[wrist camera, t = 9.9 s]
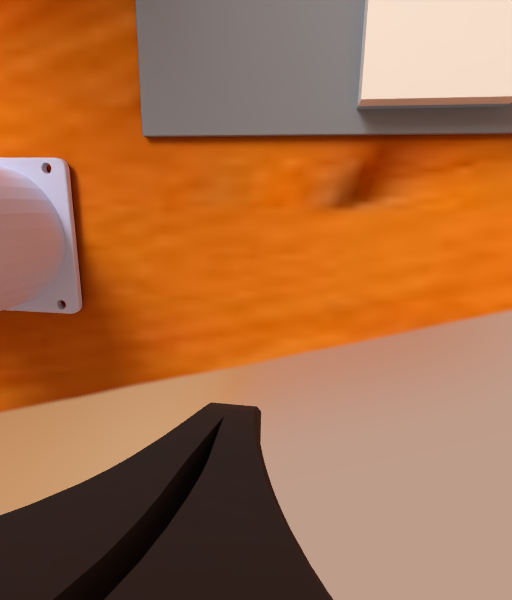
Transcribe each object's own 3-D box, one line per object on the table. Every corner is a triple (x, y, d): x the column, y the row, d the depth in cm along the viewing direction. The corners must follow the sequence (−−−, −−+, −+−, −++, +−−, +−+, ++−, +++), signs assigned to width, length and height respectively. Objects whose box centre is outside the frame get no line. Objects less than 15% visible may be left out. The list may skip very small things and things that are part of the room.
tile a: (361, 99, 15) (524, 96, 14) (374, -84, 14) (556, -98, 13) (356, 109, 17) (503, 106, 16) (367, -55, 15) (530, -66, 15)
